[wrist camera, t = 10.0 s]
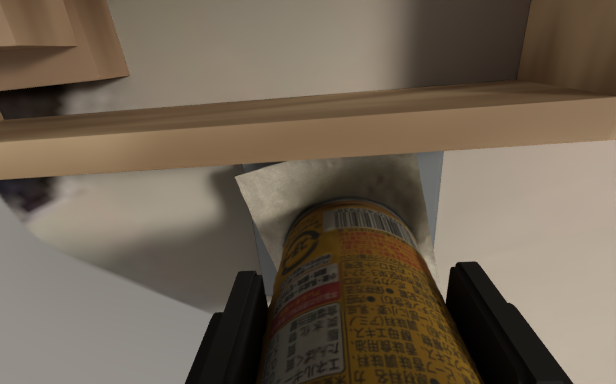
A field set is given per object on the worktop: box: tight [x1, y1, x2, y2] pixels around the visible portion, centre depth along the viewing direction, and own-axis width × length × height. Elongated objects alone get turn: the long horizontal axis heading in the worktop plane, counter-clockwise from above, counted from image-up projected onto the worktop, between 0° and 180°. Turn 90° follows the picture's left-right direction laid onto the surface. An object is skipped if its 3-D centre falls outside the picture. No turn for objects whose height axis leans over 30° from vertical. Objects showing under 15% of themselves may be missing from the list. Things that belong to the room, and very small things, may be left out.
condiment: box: [235, 153, 484, 384], centre depth 9 cm, size 7×8×12 cm
